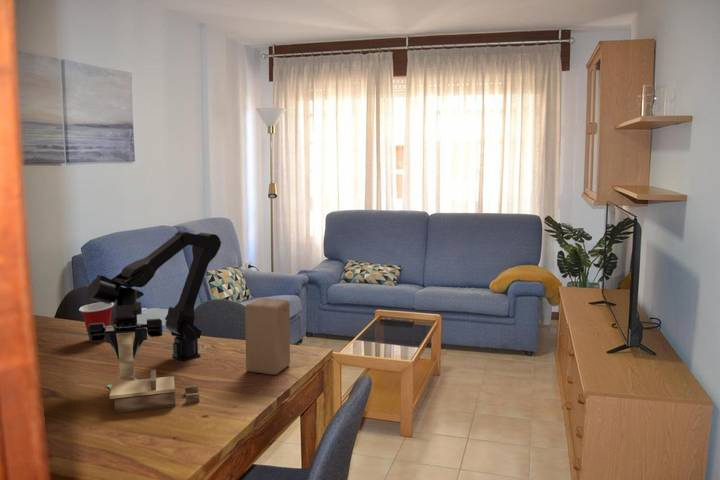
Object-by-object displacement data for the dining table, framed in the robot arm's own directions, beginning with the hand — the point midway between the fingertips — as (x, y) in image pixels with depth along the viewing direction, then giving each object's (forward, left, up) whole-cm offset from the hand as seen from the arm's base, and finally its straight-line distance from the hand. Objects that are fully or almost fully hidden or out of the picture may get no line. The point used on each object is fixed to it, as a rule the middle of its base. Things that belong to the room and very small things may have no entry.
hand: (126, 358), depth 162 cm
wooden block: (-36, +13, -9) cm, 40 cm away
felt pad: (-1, -1, -8) cm, 9 cm away
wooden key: (-1, -1, -7) cm, 7 cm away
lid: (+1, +12, -5) cm, 13 cm away
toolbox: (-2, +14, -8) cm, 16 cm away
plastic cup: (-11, -48, -9) cm, 50 cm away
